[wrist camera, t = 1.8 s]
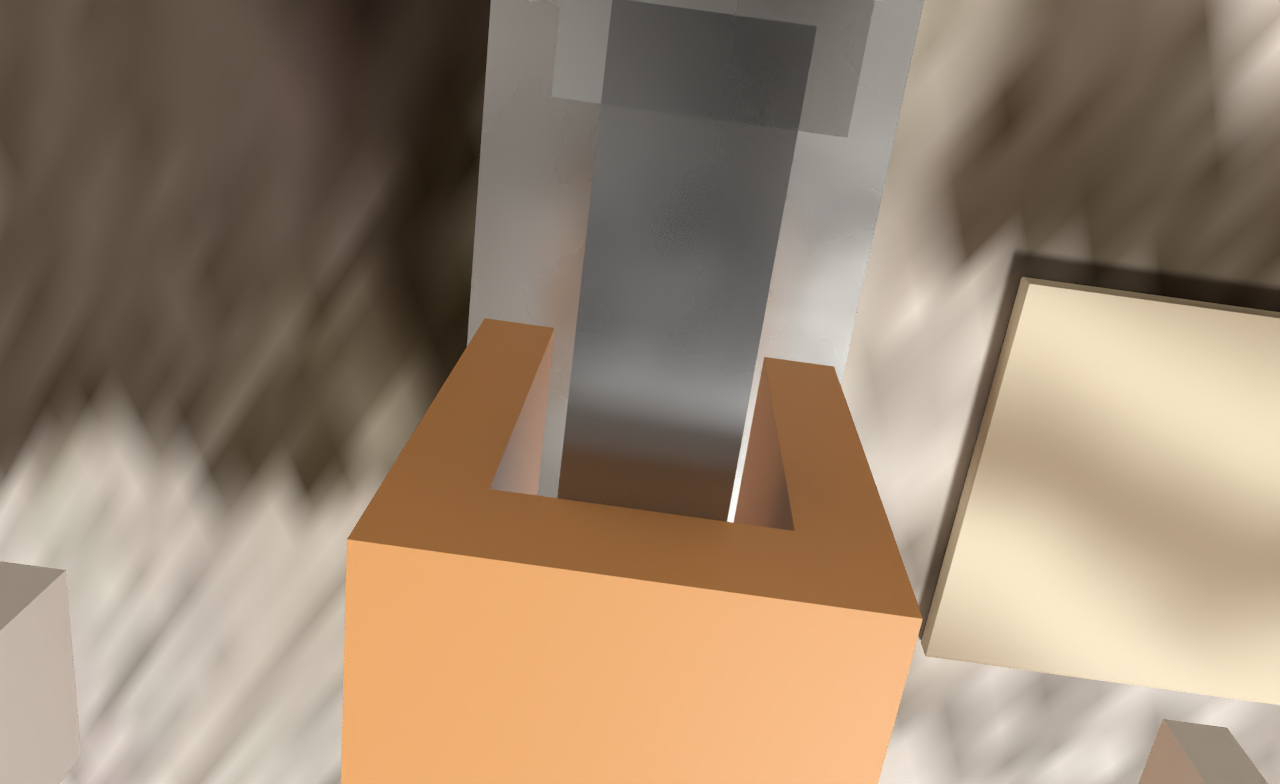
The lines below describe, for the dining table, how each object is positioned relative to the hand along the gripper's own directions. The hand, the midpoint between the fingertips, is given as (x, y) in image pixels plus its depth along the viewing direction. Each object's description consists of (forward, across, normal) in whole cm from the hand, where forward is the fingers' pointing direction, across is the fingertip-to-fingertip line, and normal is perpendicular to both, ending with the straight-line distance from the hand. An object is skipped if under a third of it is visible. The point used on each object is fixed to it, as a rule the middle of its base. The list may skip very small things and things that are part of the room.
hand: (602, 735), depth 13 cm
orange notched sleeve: (+7, 0, 0) cm, 7 cm away
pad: (+13, +13, -2) cm, 19 cm away
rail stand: (+13, 0, 0) cm, 13 cm away
